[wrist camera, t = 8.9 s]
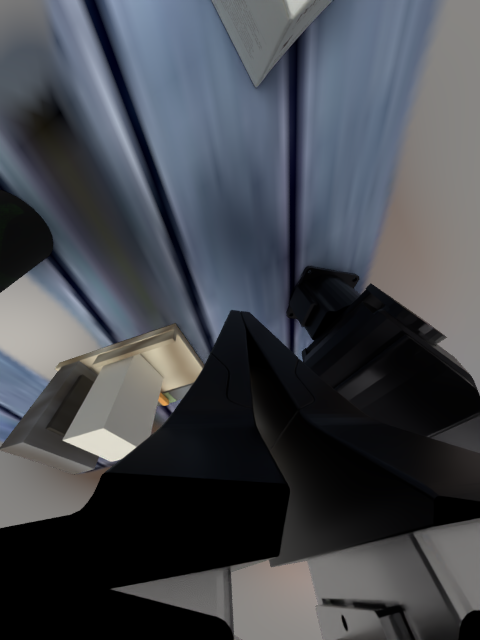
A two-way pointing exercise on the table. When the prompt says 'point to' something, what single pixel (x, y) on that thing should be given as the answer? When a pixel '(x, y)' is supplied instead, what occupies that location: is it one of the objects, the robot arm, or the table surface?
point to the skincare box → (266, 29)
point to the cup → (20, 239)
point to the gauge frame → (75, 383)
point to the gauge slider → (118, 409)
